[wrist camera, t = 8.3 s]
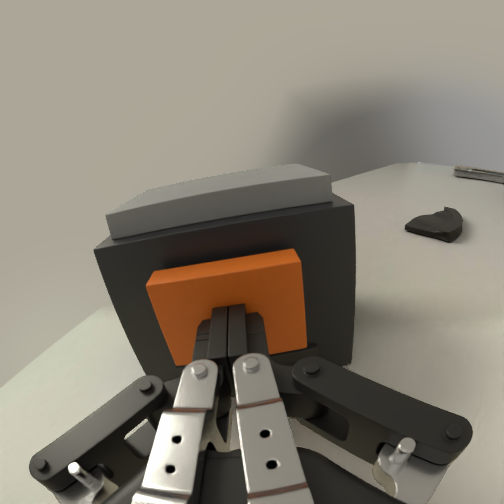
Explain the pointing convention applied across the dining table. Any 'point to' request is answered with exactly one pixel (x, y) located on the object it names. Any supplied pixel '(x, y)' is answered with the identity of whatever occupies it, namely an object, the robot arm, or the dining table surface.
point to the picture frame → (479, 174)
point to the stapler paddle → (231, 299)
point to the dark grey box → (235, 251)
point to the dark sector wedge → (438, 225)
